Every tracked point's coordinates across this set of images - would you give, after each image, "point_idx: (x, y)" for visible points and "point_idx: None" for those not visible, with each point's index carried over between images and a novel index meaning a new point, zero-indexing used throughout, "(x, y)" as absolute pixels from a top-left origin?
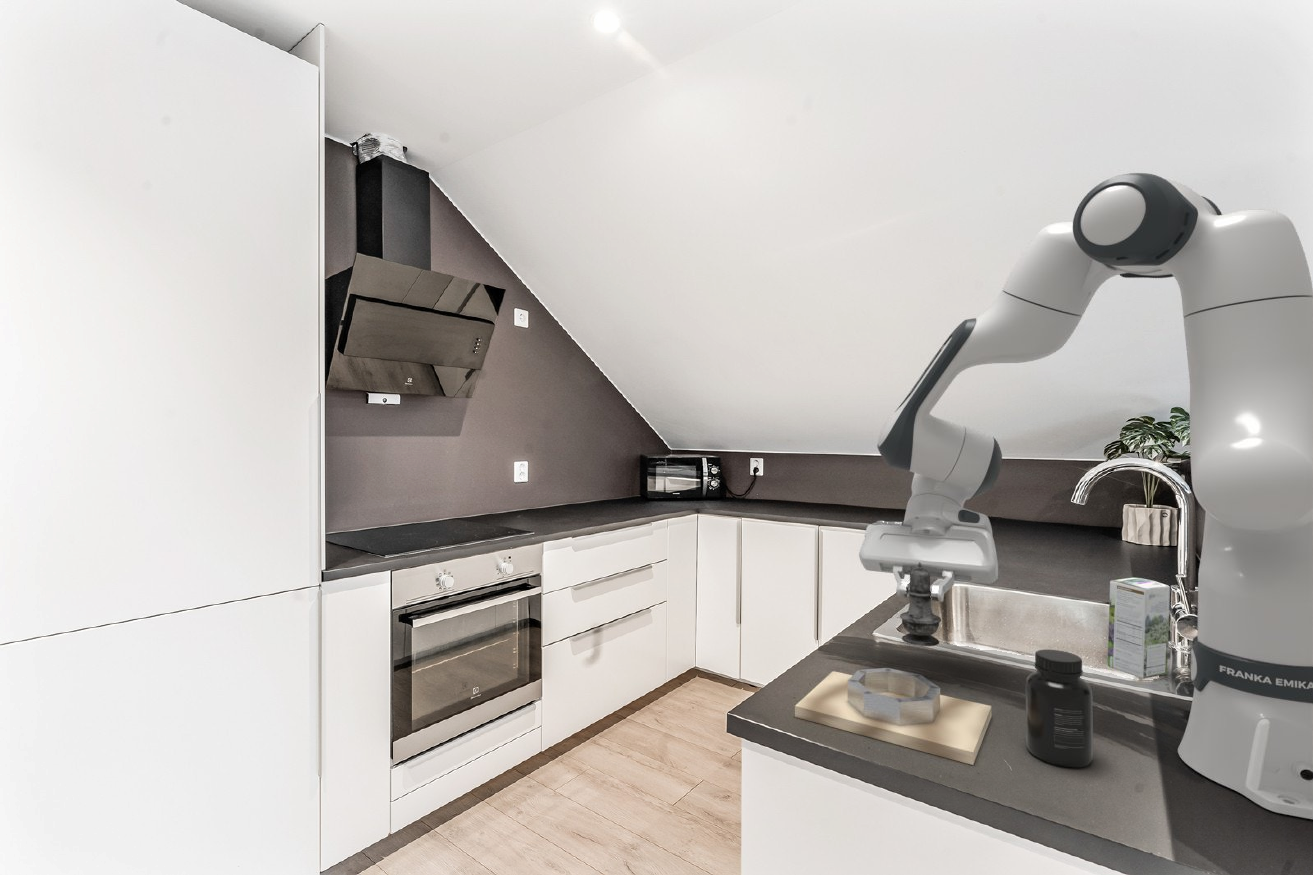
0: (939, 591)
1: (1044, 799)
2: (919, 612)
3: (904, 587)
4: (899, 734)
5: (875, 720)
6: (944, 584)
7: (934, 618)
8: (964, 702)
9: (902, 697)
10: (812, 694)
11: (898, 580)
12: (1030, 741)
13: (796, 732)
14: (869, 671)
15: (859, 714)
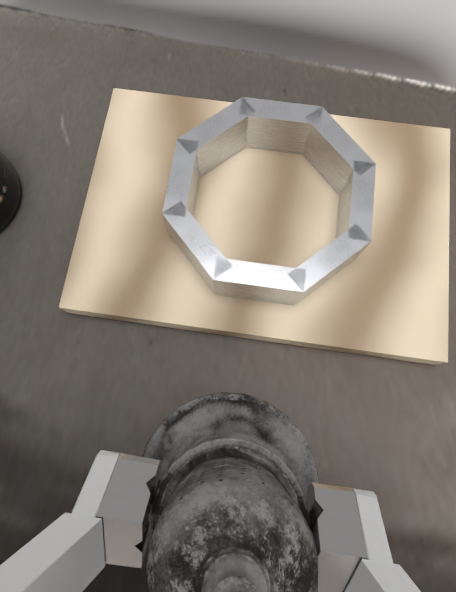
0: (103, 474)
1: (29, 55)
2: (227, 436)
3: (330, 510)
4: None
5: None
6: (52, 526)
7: (162, 460)
8: (117, 300)
9: None
10: (439, 197)
11: (392, 569)
12: (8, 163)
13: (412, 91)
14: (341, 244)
15: None
